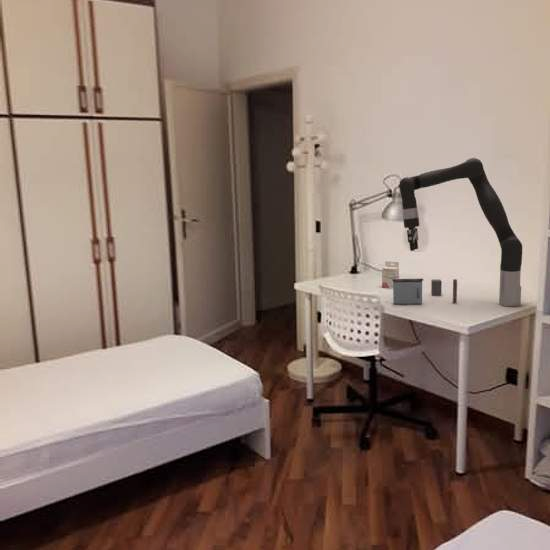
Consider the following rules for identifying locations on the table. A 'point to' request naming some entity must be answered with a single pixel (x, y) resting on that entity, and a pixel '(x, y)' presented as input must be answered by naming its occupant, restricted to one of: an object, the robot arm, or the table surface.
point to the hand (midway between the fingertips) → (414, 249)
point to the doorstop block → (436, 287)
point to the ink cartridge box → (389, 274)
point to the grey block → (407, 292)
